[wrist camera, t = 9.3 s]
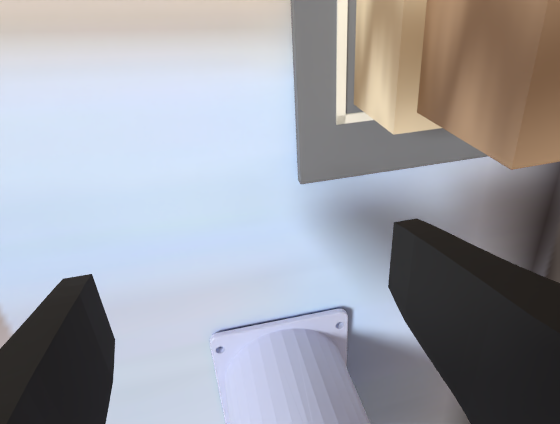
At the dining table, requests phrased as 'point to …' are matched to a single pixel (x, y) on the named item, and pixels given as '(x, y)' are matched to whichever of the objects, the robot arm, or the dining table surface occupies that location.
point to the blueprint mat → (348, 105)
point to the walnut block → (494, 76)
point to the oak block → (390, 63)
